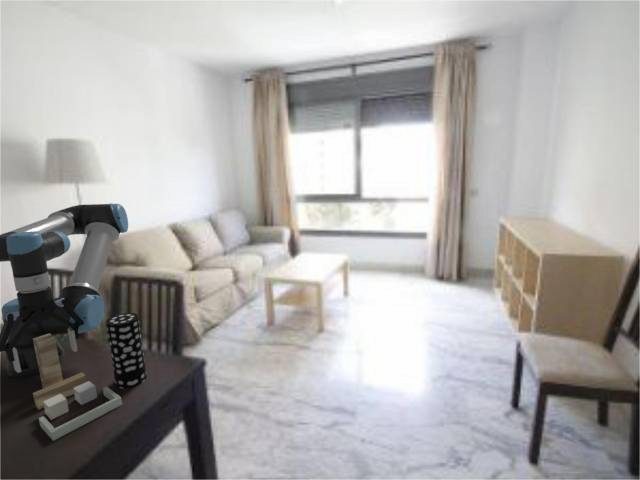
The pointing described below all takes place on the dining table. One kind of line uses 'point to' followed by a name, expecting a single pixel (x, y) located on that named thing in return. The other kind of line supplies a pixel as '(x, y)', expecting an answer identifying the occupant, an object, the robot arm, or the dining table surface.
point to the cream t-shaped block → (52, 372)
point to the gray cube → (85, 392)
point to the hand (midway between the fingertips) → (47, 360)
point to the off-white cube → (55, 406)
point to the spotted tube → (126, 350)
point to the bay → (82, 416)
